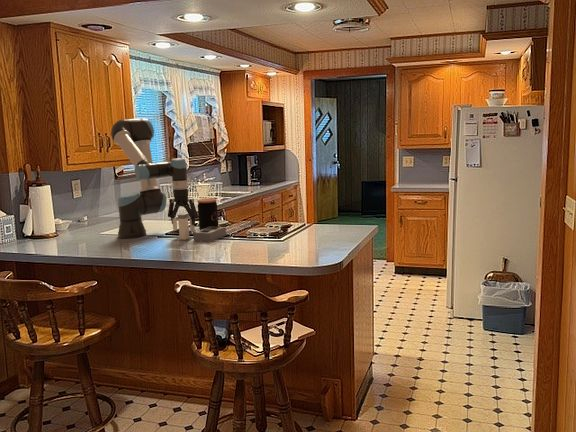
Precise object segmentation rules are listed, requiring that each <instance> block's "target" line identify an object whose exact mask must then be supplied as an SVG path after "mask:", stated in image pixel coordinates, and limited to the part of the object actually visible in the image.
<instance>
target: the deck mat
mask: <svg viewBox="0 0 576 432" xmlns="http://www.w3.org/2000/svg"><path fill="white" fill-rule="evenodd" d="M192 240H194V237H193V236H189V239H186V240H182V239H180V236H179V237H176V238H173V239H171V241H175V242H189V241H192Z"/></svg>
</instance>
